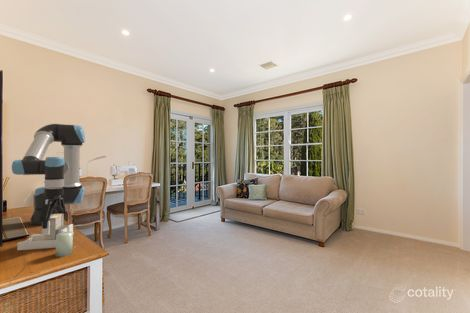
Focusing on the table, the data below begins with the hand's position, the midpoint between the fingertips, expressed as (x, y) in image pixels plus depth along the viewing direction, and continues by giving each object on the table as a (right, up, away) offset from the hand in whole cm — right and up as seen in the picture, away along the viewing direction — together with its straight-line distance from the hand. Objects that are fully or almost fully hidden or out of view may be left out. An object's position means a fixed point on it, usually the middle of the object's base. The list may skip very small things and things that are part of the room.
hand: (53, 230), depth 112 cm
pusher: (+5, -6, +2) cm, 8 cm away
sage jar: (+14, -7, -11) cm, 19 cm away
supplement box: (0, -6, 0) cm, 6 cm away
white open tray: (-3, -7, -1) cm, 7 cm away
